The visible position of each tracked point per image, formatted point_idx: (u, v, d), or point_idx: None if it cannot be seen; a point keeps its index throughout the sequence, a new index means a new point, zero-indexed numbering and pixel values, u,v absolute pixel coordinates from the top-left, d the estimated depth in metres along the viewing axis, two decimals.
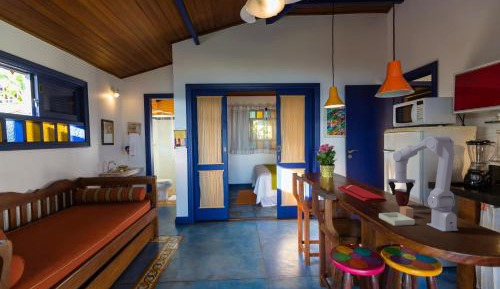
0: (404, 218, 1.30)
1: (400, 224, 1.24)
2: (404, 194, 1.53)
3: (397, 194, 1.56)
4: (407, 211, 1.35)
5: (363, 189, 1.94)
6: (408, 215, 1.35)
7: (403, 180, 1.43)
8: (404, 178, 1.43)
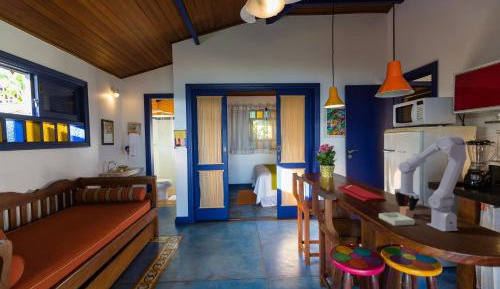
0: (404, 218, 1.30)
1: (400, 224, 1.24)
2: None
3: None
4: (407, 211, 1.35)
5: (363, 189, 1.94)
6: (408, 215, 1.35)
7: (402, 192, 1.36)
8: (403, 190, 1.36)
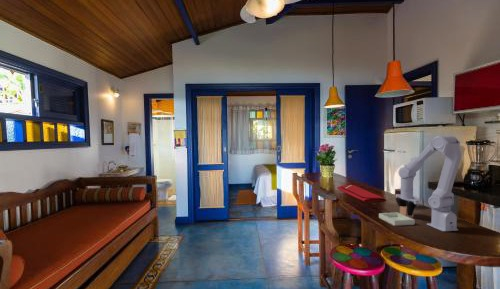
0: (404, 218, 1.30)
1: (400, 224, 1.24)
2: None
3: None
4: None
5: (363, 189, 1.94)
6: (408, 215, 1.35)
7: (402, 197, 1.36)
8: (403, 195, 1.36)
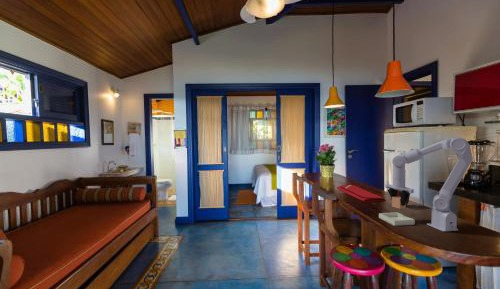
0: (404, 218, 1.30)
1: (400, 224, 1.24)
2: None
3: (397, 194, 1.56)
4: None
5: (362, 189, 1.94)
6: (401, 205, 1.29)
7: (395, 187, 1.30)
8: (397, 185, 1.29)
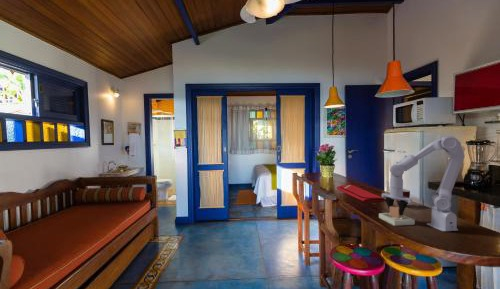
0: (404, 218, 1.30)
1: (400, 224, 1.24)
2: (404, 194, 1.53)
3: None
4: None
5: (362, 189, 1.94)
6: (400, 215, 1.28)
7: (393, 197, 1.28)
8: (395, 195, 1.27)
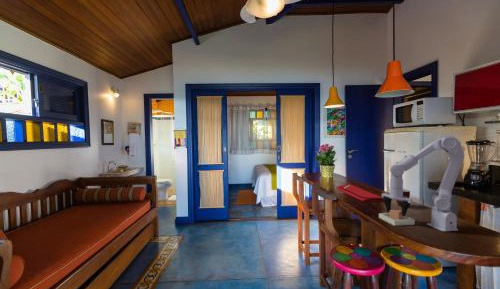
0: (404, 218, 1.30)
1: (400, 224, 1.24)
2: (404, 194, 1.53)
3: None
4: (399, 214, 1.27)
5: (361, 189, 1.94)
6: (400, 218, 1.28)
7: (393, 197, 1.28)
8: (395, 195, 1.27)
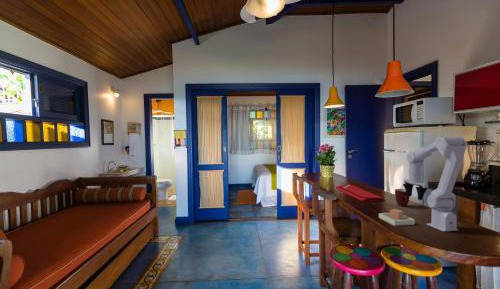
0: (404, 218, 1.30)
1: (400, 224, 1.24)
2: (404, 194, 1.53)
3: (397, 194, 1.56)
4: (399, 214, 1.27)
5: (361, 189, 1.95)
6: (400, 218, 1.28)
7: (410, 181, 1.39)
8: (411, 180, 1.38)
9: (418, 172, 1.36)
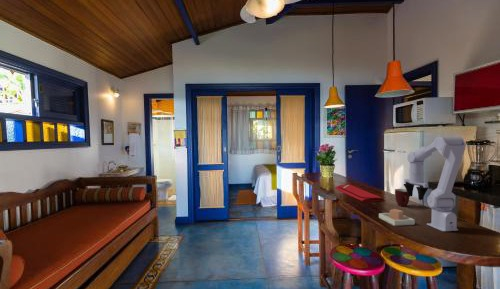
0: (404, 218, 1.30)
1: (400, 224, 1.24)
2: (404, 194, 1.53)
3: (397, 194, 1.56)
4: (399, 214, 1.27)
5: (360, 189, 1.95)
6: (400, 218, 1.28)
7: (411, 181, 1.39)
8: (412, 180, 1.38)
9: (419, 172, 1.37)
